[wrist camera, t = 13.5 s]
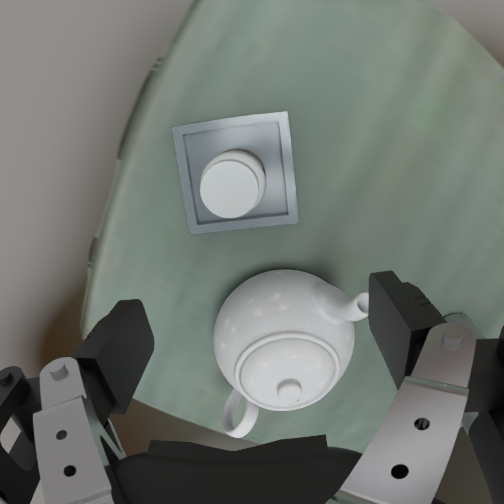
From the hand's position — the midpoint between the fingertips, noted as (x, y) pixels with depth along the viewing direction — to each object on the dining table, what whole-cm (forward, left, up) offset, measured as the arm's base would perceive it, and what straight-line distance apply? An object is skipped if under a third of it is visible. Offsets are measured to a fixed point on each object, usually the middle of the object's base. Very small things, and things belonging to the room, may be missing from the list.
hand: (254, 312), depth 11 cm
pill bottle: (+1, +2, -26) cm, 26 cm away
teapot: (-19, -1, -26) cm, 32 cm away
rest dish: (+1, +2, -26) cm, 26 cm away
